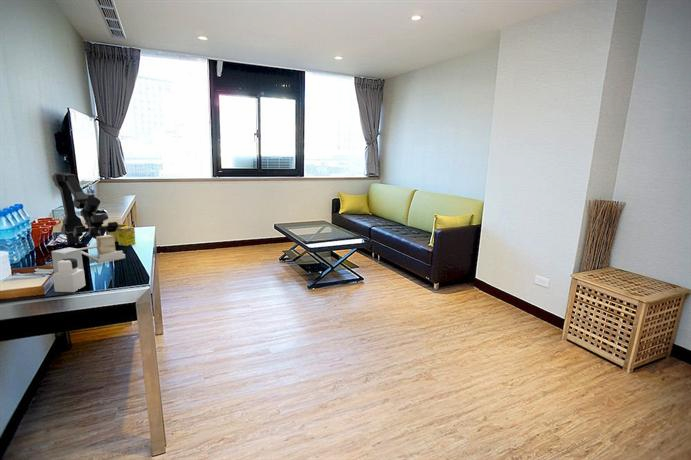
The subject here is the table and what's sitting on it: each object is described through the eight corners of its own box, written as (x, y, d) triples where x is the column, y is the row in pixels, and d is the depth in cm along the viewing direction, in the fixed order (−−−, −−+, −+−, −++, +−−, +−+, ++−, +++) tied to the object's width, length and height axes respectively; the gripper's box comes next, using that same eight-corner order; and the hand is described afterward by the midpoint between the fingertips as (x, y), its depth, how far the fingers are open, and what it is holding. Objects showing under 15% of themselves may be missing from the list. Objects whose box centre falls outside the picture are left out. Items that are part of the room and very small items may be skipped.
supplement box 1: (85, 277, 150) (82, 249, 147) (66, 283, 143) (63, 253, 140) (73, 274, 152) (69, 246, 150) (54, 280, 145) (50, 251, 143)
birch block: (97, 256, 174) (95, 236, 172) (111, 253, 179) (109, 234, 177) (102, 258, 171) (100, 238, 169) (115, 255, 176) (114, 236, 174)
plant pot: (133, 241, 209) (132, 224, 207) (119, 245, 199) (118, 228, 197) (118, 239, 211) (116, 223, 209) (103, 243, 201) (102, 226, 199)
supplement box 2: (127, 248, 194) (126, 228, 192) (118, 247, 195) (116, 227, 193) (136, 245, 200) (134, 226, 198) (127, 244, 201) (125, 225, 199)
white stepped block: (67, 285, 141) (63, 256, 139) (86, 285, 142) (82, 257, 139) (54, 292, 134) (50, 262, 132) (74, 292, 135) (70, 262, 132)
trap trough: (75, 252, 181) (74, 245, 181) (101, 248, 191) (100, 241, 190) (98, 263, 168) (97, 255, 167) (125, 258, 178) (124, 250, 177)
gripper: (72, 210, 167) (85, 236, 163) (115, 206, 182) (127, 230, 179) (67, 223, 173) (79, 249, 169) (109, 219, 188) (121, 242, 185)
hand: (103, 242), depth 175 cm, fingers closed, pressing on birch block
